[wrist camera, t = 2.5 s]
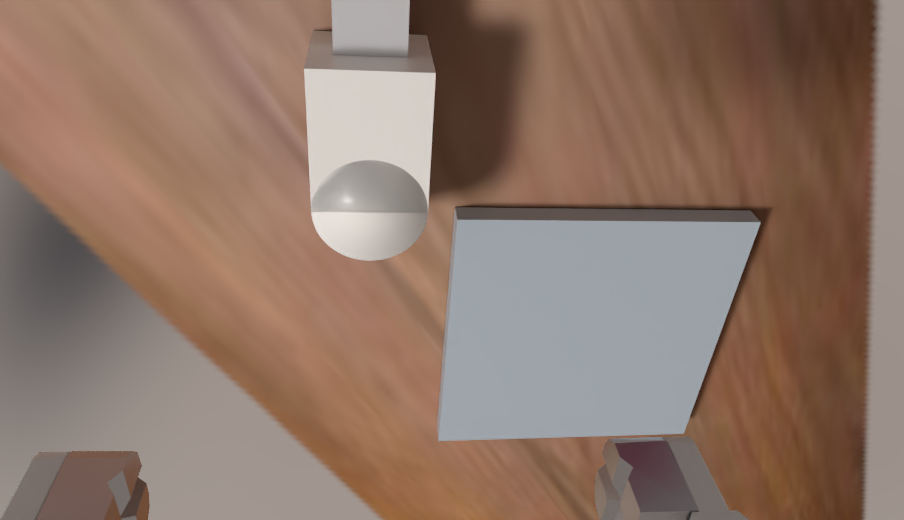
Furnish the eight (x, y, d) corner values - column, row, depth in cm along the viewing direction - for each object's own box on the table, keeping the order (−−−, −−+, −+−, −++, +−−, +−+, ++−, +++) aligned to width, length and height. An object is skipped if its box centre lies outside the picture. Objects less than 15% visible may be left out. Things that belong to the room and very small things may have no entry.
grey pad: (454, 207, 29) (457, 219, 28) (750, 210, 30) (760, 222, 30) (436, 425, 36) (438, 440, 35) (676, 419, 38) (683, 433, 37)
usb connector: (309, -43, 23) (299, -15, 20) (430, -37, 24) (440, -8, 20) (320, 205, 28) (313, 260, 25) (418, 206, 29) (425, 260, 25)
